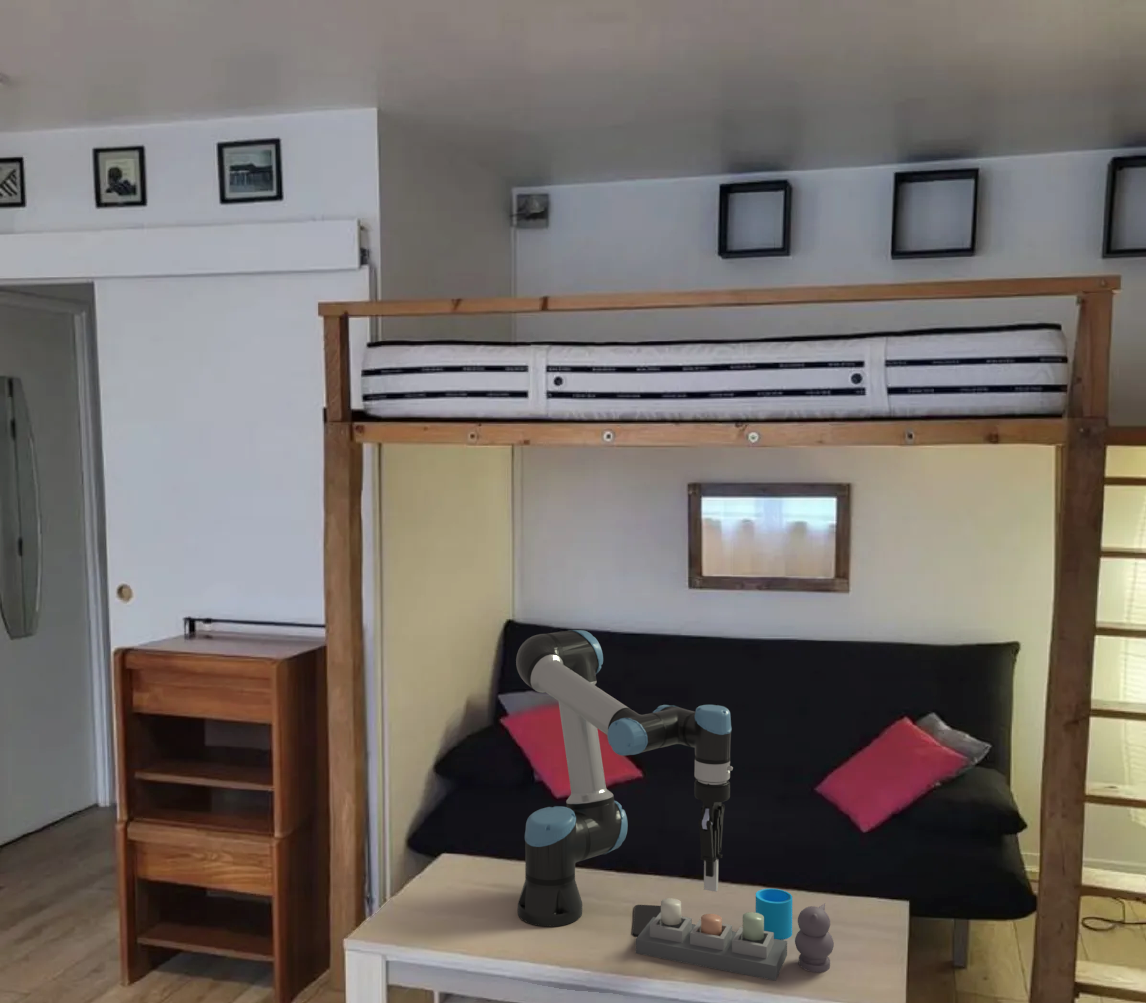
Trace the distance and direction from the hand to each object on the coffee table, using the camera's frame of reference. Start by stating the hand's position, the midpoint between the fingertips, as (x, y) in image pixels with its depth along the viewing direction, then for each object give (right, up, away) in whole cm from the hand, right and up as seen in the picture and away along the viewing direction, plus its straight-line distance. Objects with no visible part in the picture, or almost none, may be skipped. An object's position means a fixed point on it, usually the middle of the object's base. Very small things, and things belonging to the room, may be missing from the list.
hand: (710, 889), depth 214 cm
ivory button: (-8, -8, +4) cm, 12 cm away
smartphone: (-12, -14, +16) cm, 24 cm away
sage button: (+8, -8, -3) cm, 12 cm away
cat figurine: (+21, -14, -4) cm, 26 cm away
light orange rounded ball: (0, -10, 0) cm, 10 cm away
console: (0, -14, 0) cm, 14 cm away
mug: (+16, -14, +13) cm, 25 cm away
